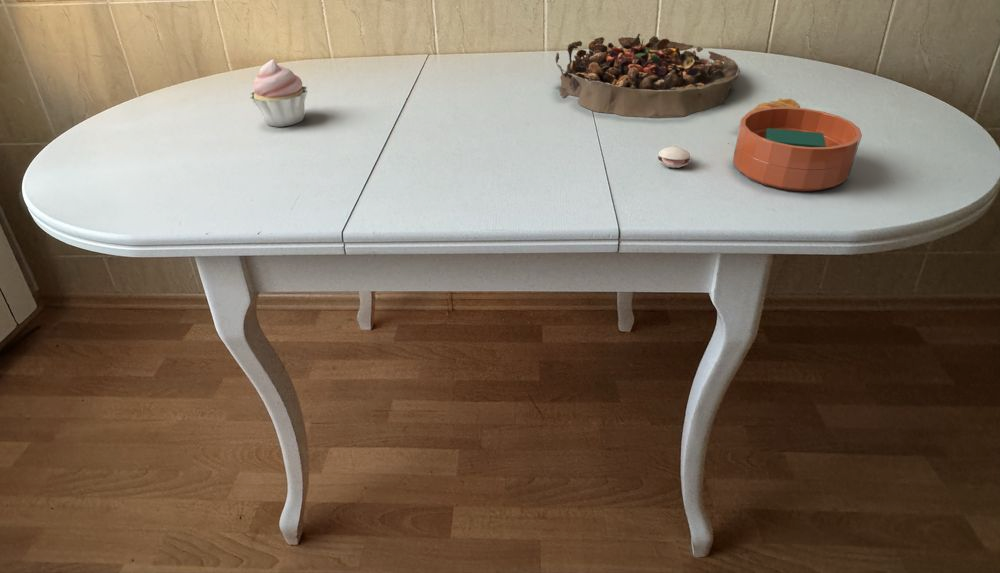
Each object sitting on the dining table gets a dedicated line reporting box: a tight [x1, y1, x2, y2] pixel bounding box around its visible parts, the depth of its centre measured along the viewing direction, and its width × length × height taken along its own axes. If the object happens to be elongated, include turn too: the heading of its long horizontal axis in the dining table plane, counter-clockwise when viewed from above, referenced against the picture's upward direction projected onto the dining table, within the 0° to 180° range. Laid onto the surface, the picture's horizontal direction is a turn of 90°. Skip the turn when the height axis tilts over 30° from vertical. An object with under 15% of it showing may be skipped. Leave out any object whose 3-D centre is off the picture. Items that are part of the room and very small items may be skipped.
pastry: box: [747, 98, 801, 113], centre depth 95 cm, size 9×7×4 cm
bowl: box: [733, 107, 863, 192], centre depth 82 cm, size 14×14×6 cm
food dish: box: [555, 33, 741, 119], centre depth 113 cm, size 35×33×8 cm
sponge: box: [765, 128, 826, 147], centre depth 82 cm, size 7×4×4 cm, turn 72°
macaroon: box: [657, 146, 691, 169], centre depth 86 cm, size 4×5×2 cm
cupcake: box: [249, 59, 308, 128], centre depth 102 cm, size 9×9×10 cm
